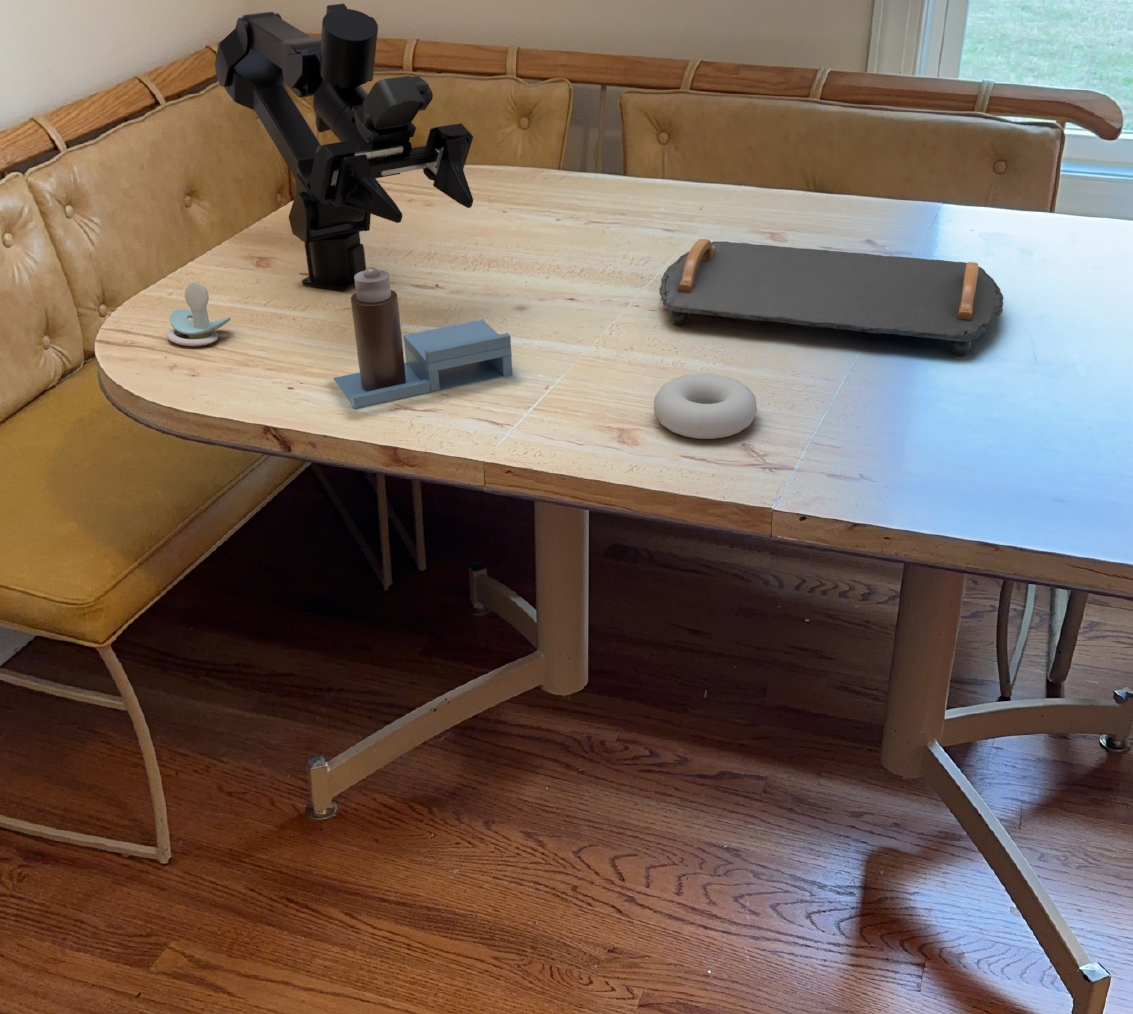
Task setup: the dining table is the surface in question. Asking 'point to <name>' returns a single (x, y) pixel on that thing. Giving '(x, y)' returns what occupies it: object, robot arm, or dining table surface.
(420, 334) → the riser
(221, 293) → the dining table surface
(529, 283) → the dining table surface
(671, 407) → the donut
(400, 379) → the pepper mill
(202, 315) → the pacifier
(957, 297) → the serving tray
